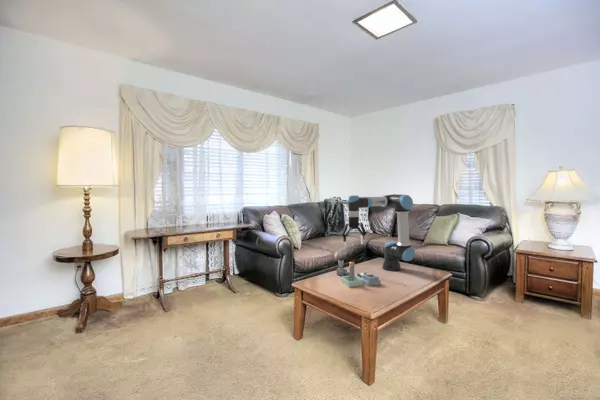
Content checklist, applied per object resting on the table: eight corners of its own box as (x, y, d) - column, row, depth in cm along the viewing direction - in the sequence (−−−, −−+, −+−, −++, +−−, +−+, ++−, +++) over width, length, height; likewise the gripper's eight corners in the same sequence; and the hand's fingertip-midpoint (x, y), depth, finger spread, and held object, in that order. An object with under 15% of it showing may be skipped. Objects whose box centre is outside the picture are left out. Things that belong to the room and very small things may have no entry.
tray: (354, 280, 222) (354, 275, 222) (362, 285, 211) (362, 279, 211) (341, 281, 218) (341, 277, 218) (348, 287, 207) (348, 281, 207)
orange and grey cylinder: (352, 281, 217) (352, 261, 216) (355, 282, 214) (355, 262, 213) (348, 281, 216) (348, 262, 215) (350, 283, 212) (350, 263, 212)
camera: (342, 258, 240) (355, 263, 228) (341, 272, 241) (355, 277, 229) (334, 260, 235) (347, 264, 223) (334, 274, 236) (347, 279, 224)
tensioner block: (355, 278, 225) (355, 271, 225) (367, 277, 229) (367, 270, 229) (367, 285, 209) (367, 278, 209) (380, 284, 213) (380, 276, 213)
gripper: (365, 215, 221) (365, 242, 222) (336, 216, 213) (336, 245, 214) (371, 216, 214) (371, 244, 215) (340, 217, 206) (341, 247, 207)
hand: (353, 245), depth 214 cm, fingers open, 13 cm apart
